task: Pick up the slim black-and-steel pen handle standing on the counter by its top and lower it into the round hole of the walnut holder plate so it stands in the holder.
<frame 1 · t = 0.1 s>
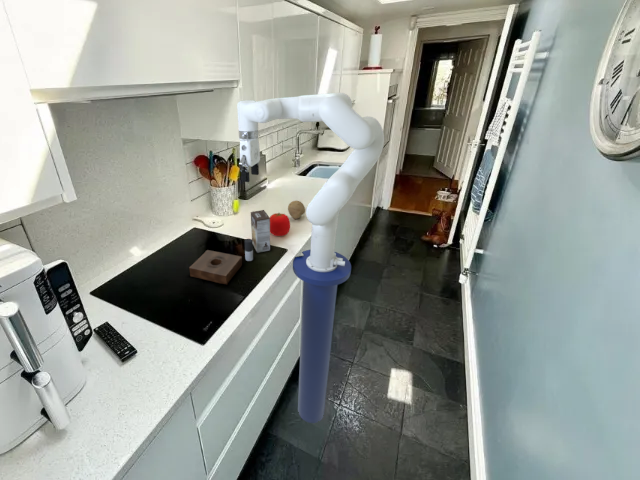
hand: (250, 178, 125), 32 cm above the worktop, tool pointing down, fingers open, 9 cm apart
holder: (216, 270, 123), on the worktop
natural sponge: (296, 218, 164), on the worktop
tomato: (279, 234, 149), on the worktop
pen: (249, 259, 130), on the worktop
coffee box: (261, 247, 139), on the worktop
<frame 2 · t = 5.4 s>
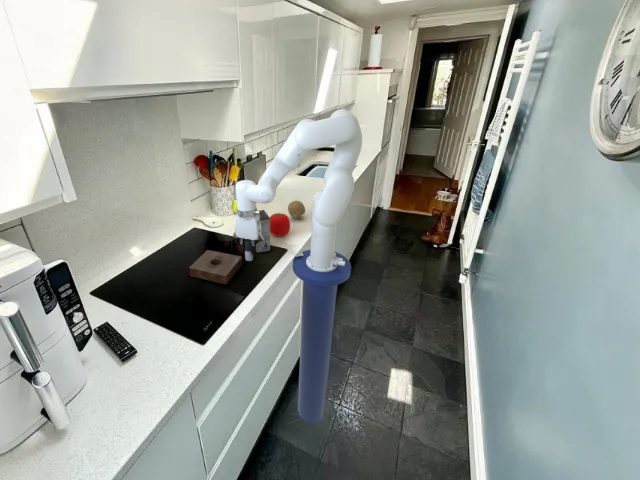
hand: (248, 251, 128), 4 cm above the worktop, tool pointing down, fingers closed on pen, 3 cm apart
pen: (249, 259, 130), on the worktop, touching gripper
everything else where it was.
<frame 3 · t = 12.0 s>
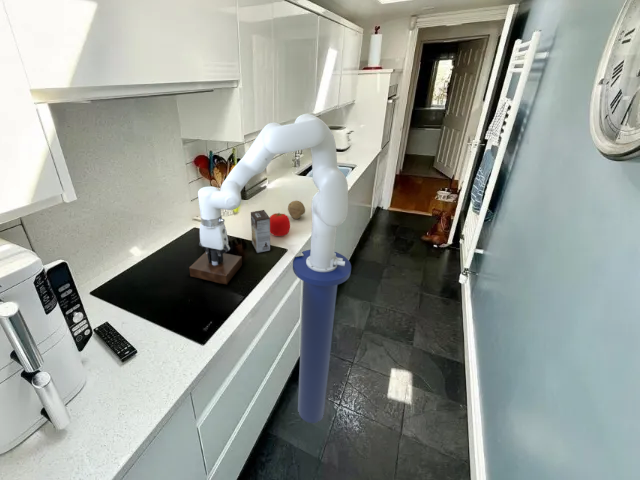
hand: (215, 261, 121), 4 cm above the worktop, tool pointing down, fingers closed on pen, 3 cm apart
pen: (216, 269, 123), point 1 cm above the worktop, touching gripper
everything else where it was.
when the fingers open (5 cm above the worktop, at t = 15.0 s): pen drops 1 cm, resting in holder.
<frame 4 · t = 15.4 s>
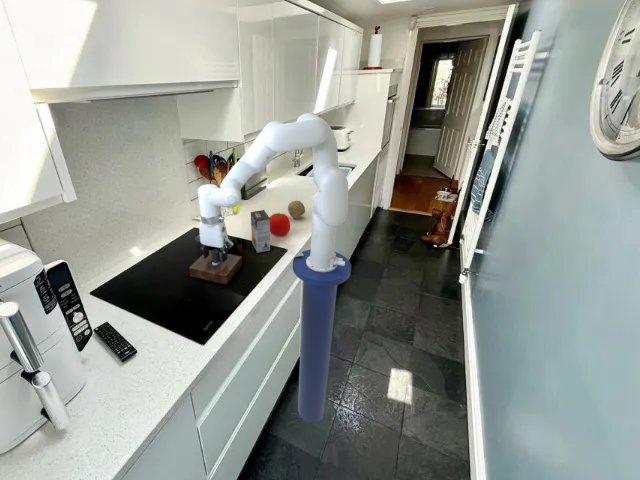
hand: (215, 258, 121), 6 cm above the worktop, tool pointing down, fingers open, 7 cm apart
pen: (217, 270, 123), resting in holder
everything else where it was.
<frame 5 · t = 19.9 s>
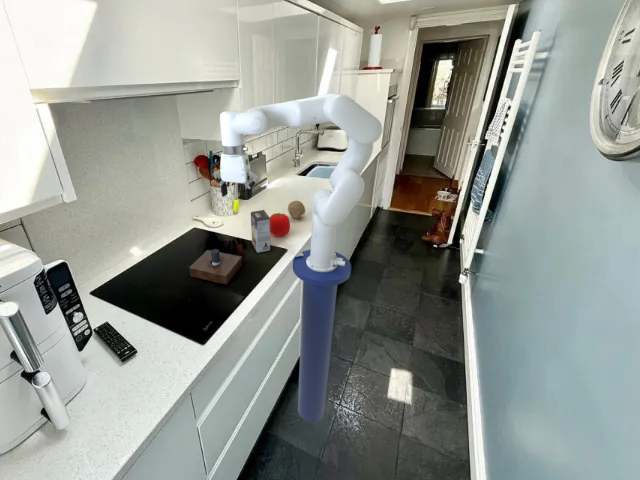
hand: (236, 196, 112), 30 cm above the worktop, tool pointing down, fingers open, 9 cm apart
nothing on the worktop moved.
at the end: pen 0.0 cm off-centre in the holder, point 0.0 cm above the holder's base; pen tilted 0°; the gripper is holding nothing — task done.
